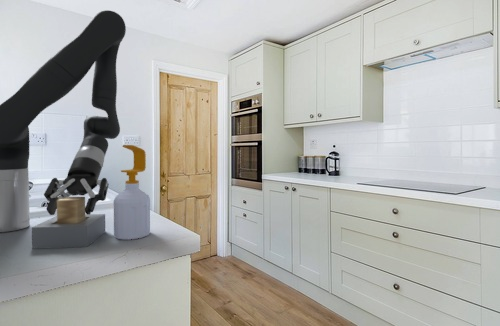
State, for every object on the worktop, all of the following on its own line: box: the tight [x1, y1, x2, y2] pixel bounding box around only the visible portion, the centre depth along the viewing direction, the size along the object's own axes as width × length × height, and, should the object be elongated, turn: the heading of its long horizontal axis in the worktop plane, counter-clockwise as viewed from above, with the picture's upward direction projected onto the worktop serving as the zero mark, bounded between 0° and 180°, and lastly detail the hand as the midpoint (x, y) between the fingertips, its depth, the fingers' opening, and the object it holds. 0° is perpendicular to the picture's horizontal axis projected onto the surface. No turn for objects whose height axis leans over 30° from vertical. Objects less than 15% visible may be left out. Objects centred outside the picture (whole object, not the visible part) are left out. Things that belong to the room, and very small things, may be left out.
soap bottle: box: [113, 144, 151, 241], centre depth 75 cm, size 9×9×25 cm
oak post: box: [56, 196, 86, 224], centre depth 71 cm, size 5×5×10 cm
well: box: [31, 213, 106, 250], centre depth 72 cm, size 12×12×5 cm
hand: (69, 213), depth 70 cm, fingers open, 8 cm apart
